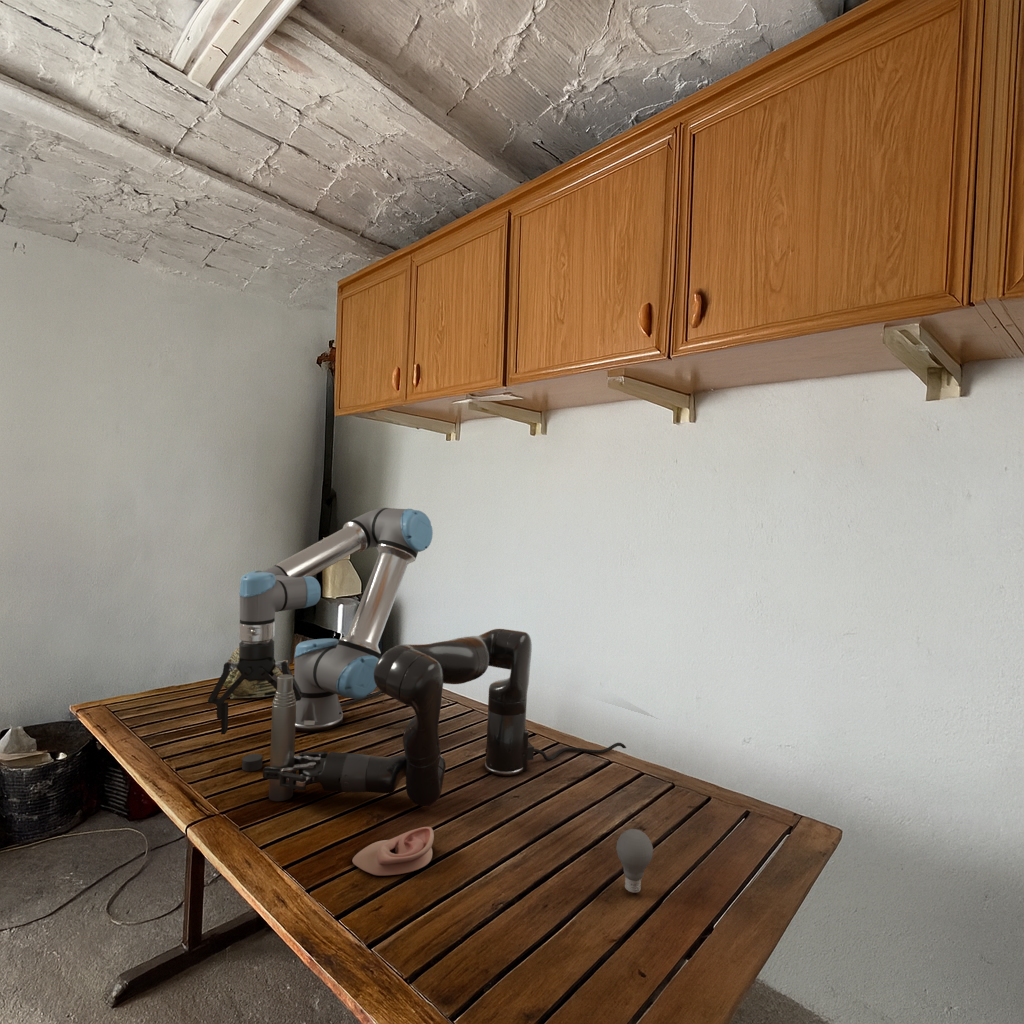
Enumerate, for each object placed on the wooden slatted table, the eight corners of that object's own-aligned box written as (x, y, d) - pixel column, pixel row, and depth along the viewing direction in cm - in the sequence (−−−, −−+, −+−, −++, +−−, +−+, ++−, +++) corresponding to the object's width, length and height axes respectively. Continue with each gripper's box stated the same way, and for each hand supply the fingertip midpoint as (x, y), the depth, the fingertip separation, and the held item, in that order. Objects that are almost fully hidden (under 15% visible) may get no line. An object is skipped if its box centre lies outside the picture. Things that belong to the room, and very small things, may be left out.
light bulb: (610, 879, 108) (613, 822, 108) (644, 879, 109) (647, 822, 109) (619, 902, 102) (622, 840, 102) (655, 901, 103) (658, 840, 103)
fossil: (218, 695, 195) (220, 647, 195) (278, 685, 208) (279, 640, 207) (228, 703, 189) (230, 653, 188) (289, 692, 201) (290, 645, 201)
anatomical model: (344, 847, 108) (373, 814, 119) (343, 870, 108) (372, 835, 119) (418, 859, 105) (440, 825, 116) (417, 883, 105) (439, 846, 116)
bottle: (263, 798, 132) (268, 677, 132) (280, 789, 136) (284, 672, 136) (281, 803, 130) (286, 680, 130) (297, 793, 135) (302, 675, 134)
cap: (238, 770, 144) (238, 760, 144) (248, 762, 149) (248, 753, 149) (256, 772, 144) (256, 762, 144) (265, 764, 148) (266, 754, 148)
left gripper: (193, 645, 140) (192, 739, 141) (311, 643, 144) (309, 735, 145) (204, 637, 147) (203, 726, 148) (315, 635, 152) (313, 723, 153)
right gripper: (359, 741, 139) (284, 736, 140) (338, 769, 125) (254, 763, 126) (358, 775, 140) (282, 770, 141) (336, 806, 125) (252, 800, 126)
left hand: (255, 731), depth 147 cm, fingers open, 13 cm apart
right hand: (269, 767), depth 133 cm, fingers closed on bottle, 5 cm apart
